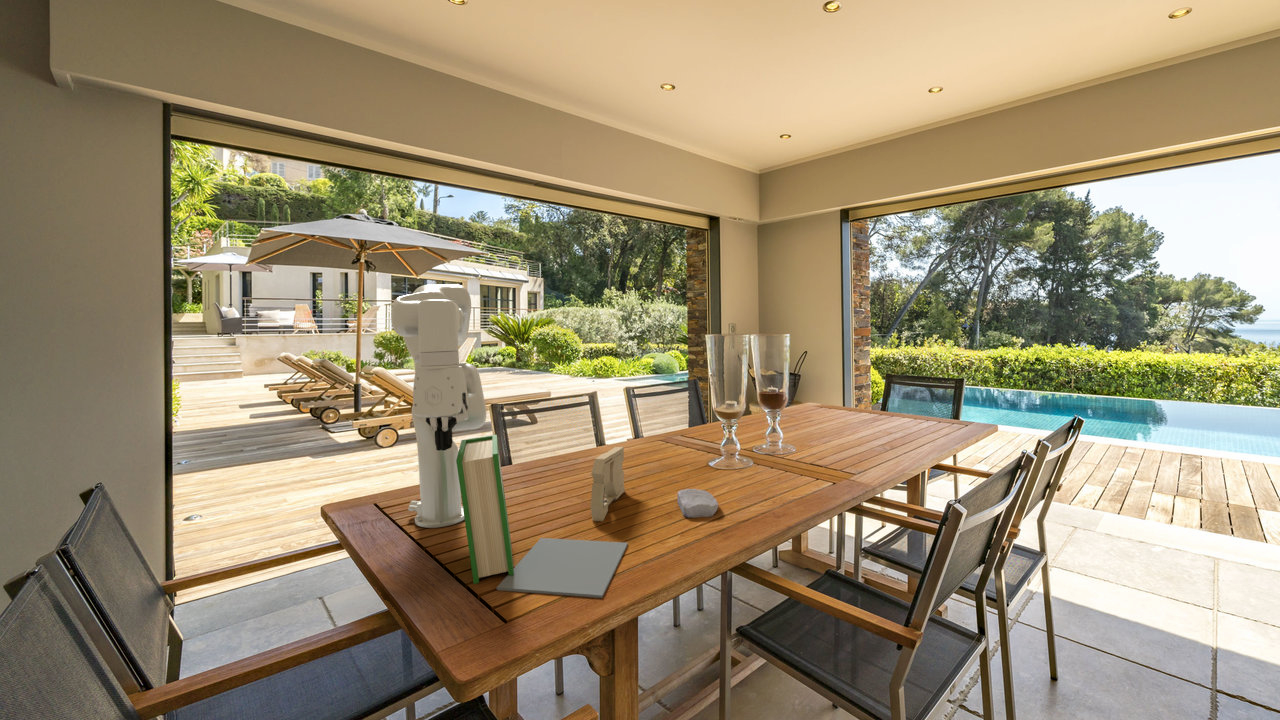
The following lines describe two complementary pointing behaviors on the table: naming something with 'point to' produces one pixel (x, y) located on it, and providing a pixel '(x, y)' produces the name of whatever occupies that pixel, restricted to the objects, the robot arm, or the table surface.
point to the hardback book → (484, 507)
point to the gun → (606, 481)
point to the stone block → (696, 503)
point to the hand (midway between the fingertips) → (444, 448)
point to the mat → (566, 568)
